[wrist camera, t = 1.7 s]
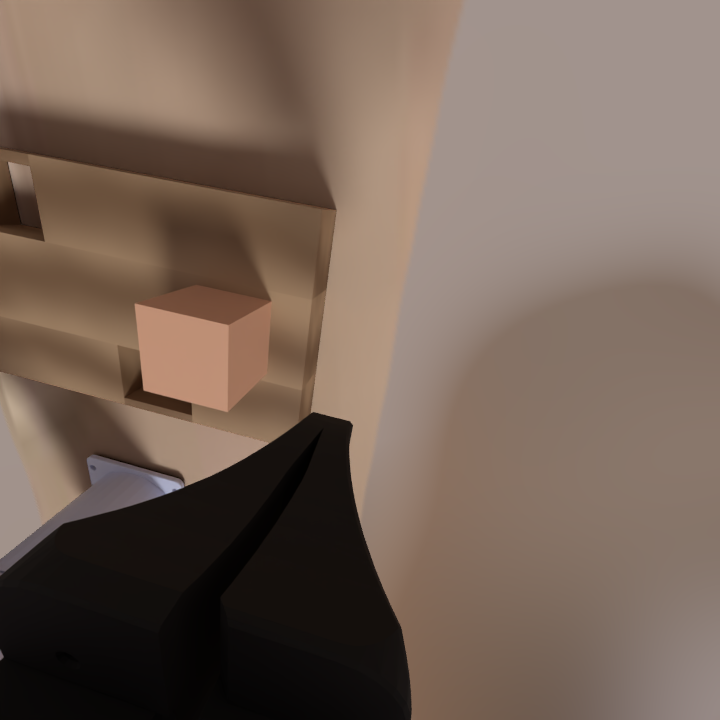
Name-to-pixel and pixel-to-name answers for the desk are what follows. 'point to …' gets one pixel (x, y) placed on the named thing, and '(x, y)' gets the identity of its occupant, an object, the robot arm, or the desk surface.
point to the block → (203, 345)
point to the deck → (155, 282)
